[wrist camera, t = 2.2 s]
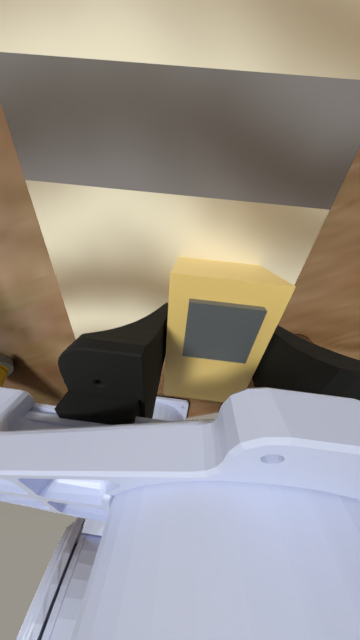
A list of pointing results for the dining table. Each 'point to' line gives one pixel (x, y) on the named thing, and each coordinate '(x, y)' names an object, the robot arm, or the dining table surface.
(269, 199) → the panel
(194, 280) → the stud finder
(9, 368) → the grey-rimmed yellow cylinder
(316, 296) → the dining table surface
